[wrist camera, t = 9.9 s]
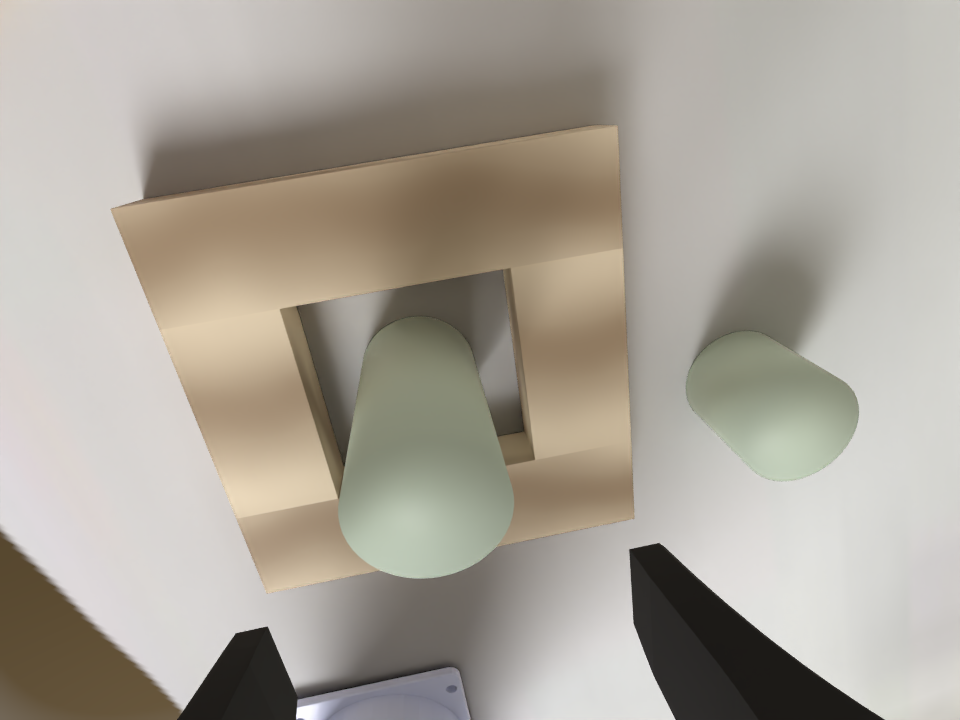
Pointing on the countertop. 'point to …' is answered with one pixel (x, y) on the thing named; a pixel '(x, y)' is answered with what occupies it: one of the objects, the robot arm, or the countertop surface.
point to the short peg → (772, 405)
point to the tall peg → (423, 456)
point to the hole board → (382, 266)
